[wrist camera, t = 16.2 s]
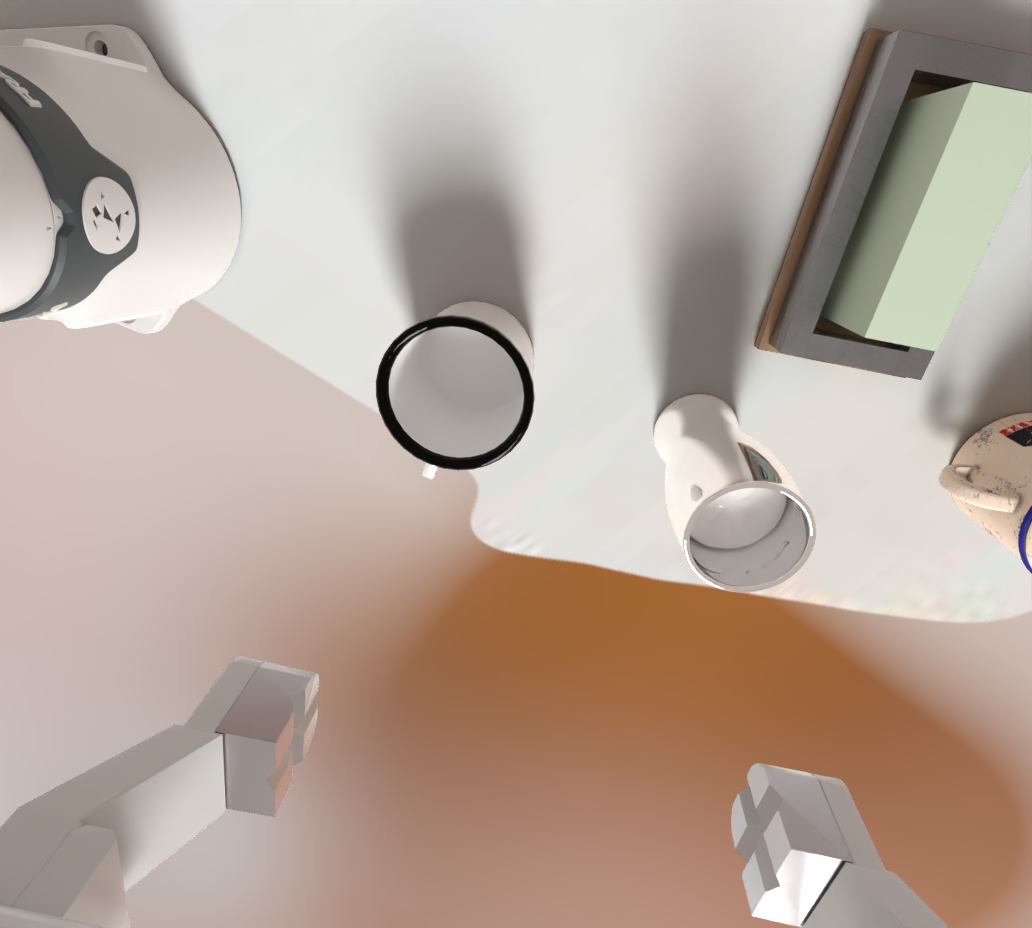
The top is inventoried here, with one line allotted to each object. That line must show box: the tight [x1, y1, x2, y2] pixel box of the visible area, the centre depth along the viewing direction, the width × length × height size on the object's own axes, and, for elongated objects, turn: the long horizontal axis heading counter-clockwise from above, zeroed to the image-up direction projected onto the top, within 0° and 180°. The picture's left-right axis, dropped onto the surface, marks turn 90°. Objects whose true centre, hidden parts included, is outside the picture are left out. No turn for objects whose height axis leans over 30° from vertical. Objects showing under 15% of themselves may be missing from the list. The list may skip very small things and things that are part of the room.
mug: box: [376, 301, 535, 479], centre depth 40 cm, size 12×10×9 cm
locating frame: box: [754, 28, 1032, 380], centre depth 36 cm, size 10×18×4 cm, turn 170°
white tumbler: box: [653, 394, 816, 592], centre depth 37 cm, size 7×7×15 cm
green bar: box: [820, 82, 1032, 352], centre depth 33 cm, size 12×4×7 cm, turn 170°
